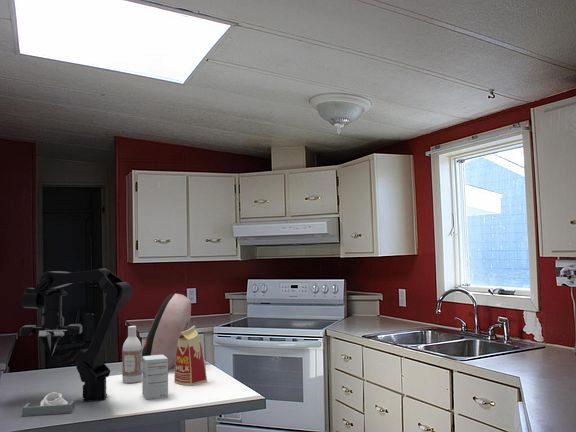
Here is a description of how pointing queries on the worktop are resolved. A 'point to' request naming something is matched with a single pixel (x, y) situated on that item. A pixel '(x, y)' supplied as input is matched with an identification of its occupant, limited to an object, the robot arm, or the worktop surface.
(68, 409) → the tray
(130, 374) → the bath foam
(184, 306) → the beige tall rounded piece
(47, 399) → the whipped cream
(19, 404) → the worktop surface
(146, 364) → the supplement box
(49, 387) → the worktop surface
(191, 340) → the milk carton
